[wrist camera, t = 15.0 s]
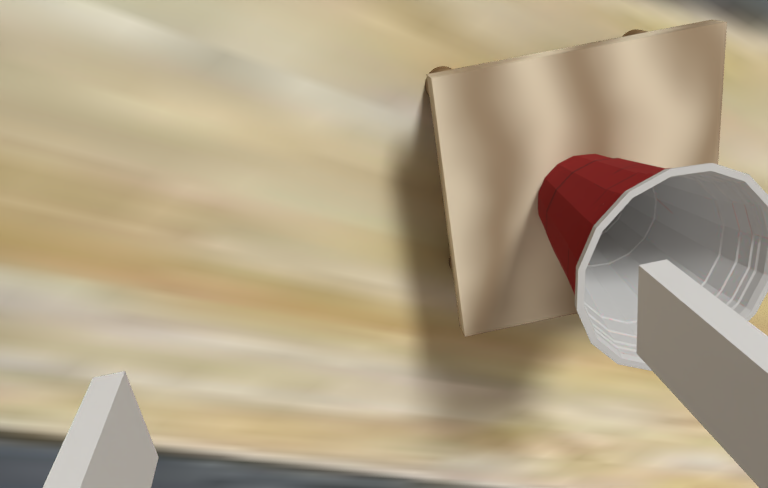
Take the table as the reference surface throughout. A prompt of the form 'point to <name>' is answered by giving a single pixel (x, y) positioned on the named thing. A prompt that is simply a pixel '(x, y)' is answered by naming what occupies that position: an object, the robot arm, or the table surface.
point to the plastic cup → (652, 238)
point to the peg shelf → (559, 150)
